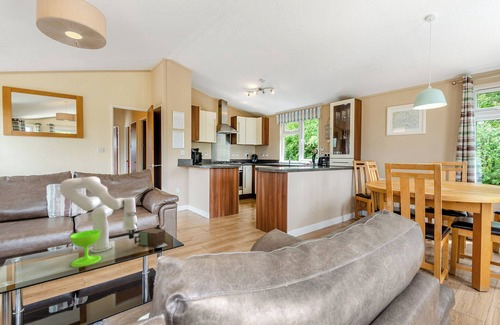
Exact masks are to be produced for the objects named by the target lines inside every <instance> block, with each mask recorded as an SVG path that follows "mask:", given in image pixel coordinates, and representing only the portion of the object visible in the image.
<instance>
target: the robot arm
mask: <svg viewBox="0 0 500 325" xmlns="http://www.w3.org/2000/svg"><path fill="white" fill-rule="evenodd" d="M80 189H86V190H87V191H88V192H90V193H92V194H93V195H94V196H87V195H86V194H85V193H83V192H82V191H80ZM59 192H60V194H61V196H62V197H63V198H65V199H67V200H68V201H70V202H71V203H73V205H75V206H77V207H79V209H81V210H83V211H85V212H90V211H92V212H91V215H90V216H91V218H90V219H91V221H92V230H99V231H101V232H100V236H99V238H98V240H97V241H96V242H95V243H93V244H92V245H90V246H91V247H92V248H91V249H90V252H91V253H95V254H96V253H102V252H106V251H109V250H111V248H112V245H111V244H110V235H109V232H110V231H109V229H110V228H109V221H108V217H110V216H112V214H113V212H114V211H116V210H120V209H121V208H123V209H124V213H123V214H124V216H123V220H122V226H123V227H122V228H123V230H125V232H127V234H128V239H129V240H132V239H134V237H135V232H136V231H138V228H139V223H138V217H137V208H136V207H137V206H136V198H135V197H117V198H115V197H113V196H112V195H110V193H109V191H108V187H107V186H105V185H104V184H102V183H101V179H100V177H98V176H95V175H94V176H92V175H91V176H85V177H74V178H73V177H72V178H67V179H64V180H63V181H61V182H60V184H59Z"/></svg>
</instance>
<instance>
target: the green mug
mask: <svg viewBox="0 0 500 325" xmlns="http://www.w3.org/2000/svg"><path fill="white" fill-rule="evenodd" d="M137 235H138V236H134V238H133V240H134V244H135V245H136V244H137V243H138V245H140V244H141V245H145V246H147V245H148V233H139V232H138V234H137ZM137 239H138V240H137Z"/></svg>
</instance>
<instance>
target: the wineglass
mask: <svg viewBox="0 0 500 325" xmlns="http://www.w3.org/2000/svg"><path fill="white" fill-rule="evenodd" d="M100 232H101V231H99V230H93V229H91V230H84V231H79V232H76V233H75V232H74V233H73V234H71V235H70V236H69V237H70V241H71V243H72V244H73V245H74V246H77V247H79V248H84V256H82V257H79V258H77V259H75V260H73V261H72V262H71V264H70V267H73V268H83V267H87V266H91V265H94V264H96V263H98V262H100V261H101V260H102V257H101V256H100V255H97V254H95V255H94V254H89V247H90V246H91V245H92V244H93V243H95V242H96V241H97V240H98V238H99V236H100Z"/></svg>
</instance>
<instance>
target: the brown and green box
mask: <svg viewBox="0 0 500 325" xmlns="http://www.w3.org/2000/svg"><path fill="white" fill-rule="evenodd" d="M138 233H148V245H141V244H137V246H138V247H140V246H141V247H146V248H154V249H155V248H157V247H159V246H160V245H163V244H164V243H166V229H164V228H152V227H150V228H149V227H148V228H146V229H144V230H141V231H139V232H138Z"/></svg>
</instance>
